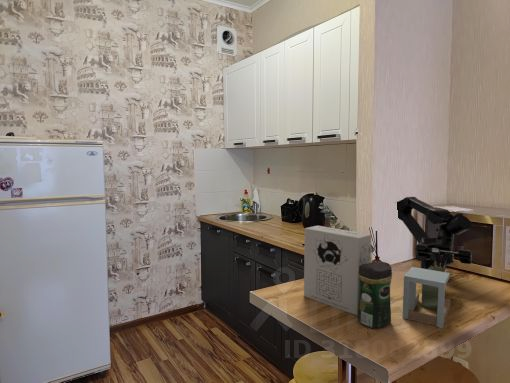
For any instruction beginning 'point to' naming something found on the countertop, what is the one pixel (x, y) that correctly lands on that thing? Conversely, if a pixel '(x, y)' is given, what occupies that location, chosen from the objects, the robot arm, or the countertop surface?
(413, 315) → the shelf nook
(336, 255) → the cereal box
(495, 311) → the countertop surface
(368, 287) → the coffee jar
